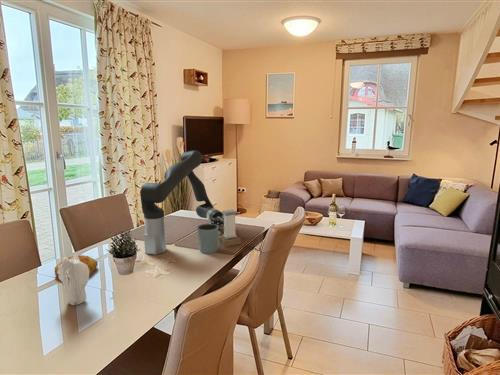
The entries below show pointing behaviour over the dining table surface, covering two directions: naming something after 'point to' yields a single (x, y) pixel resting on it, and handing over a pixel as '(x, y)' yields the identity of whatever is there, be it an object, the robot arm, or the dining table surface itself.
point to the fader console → (227, 241)
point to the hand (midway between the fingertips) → (228, 224)
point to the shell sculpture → (74, 279)
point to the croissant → (85, 259)
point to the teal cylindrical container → (208, 238)
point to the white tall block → (229, 224)
